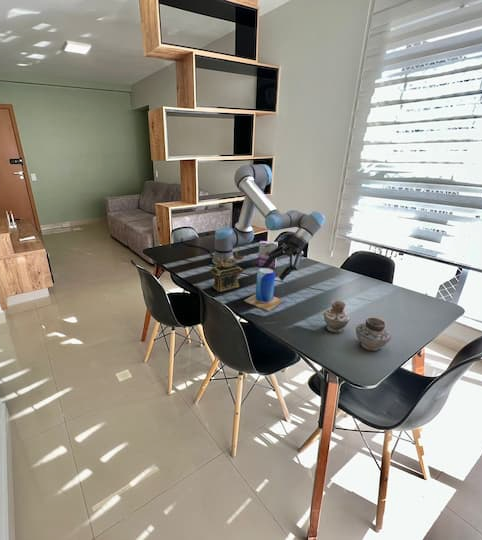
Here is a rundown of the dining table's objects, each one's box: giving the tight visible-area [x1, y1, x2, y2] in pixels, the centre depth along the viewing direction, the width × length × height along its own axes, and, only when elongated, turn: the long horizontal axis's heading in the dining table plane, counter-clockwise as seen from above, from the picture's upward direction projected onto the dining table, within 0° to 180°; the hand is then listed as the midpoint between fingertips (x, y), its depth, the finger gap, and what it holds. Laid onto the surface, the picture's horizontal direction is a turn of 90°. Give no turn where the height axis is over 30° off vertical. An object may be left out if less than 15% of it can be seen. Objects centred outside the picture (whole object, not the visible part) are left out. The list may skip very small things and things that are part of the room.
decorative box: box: [208, 250, 246, 292], centre depth 156 cm, size 20×10×20 cm, turn 117°
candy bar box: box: [257, 240, 279, 269], centre depth 183 cm, size 11×5×16 cm, turn 68°
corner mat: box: [243, 293, 285, 312], centre depth 142 cm, size 14×14×1 cm
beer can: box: [255, 267, 276, 304], centre depth 139 cm, size 8×8×16 cm
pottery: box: [323, 300, 392, 351], centre depth 111 cm, size 11×25×12 cm, turn 36°
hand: (271, 273), depth 139 cm, fingers open, 13 cm apart
